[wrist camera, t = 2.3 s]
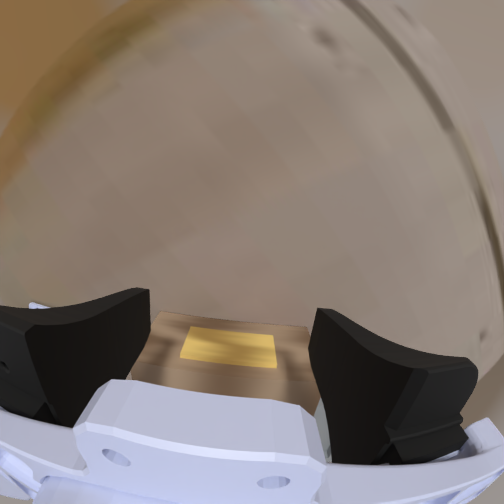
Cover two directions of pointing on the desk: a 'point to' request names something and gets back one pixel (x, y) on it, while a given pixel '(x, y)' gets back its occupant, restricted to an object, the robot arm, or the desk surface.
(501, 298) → the desk surface
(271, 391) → the lamp housing
